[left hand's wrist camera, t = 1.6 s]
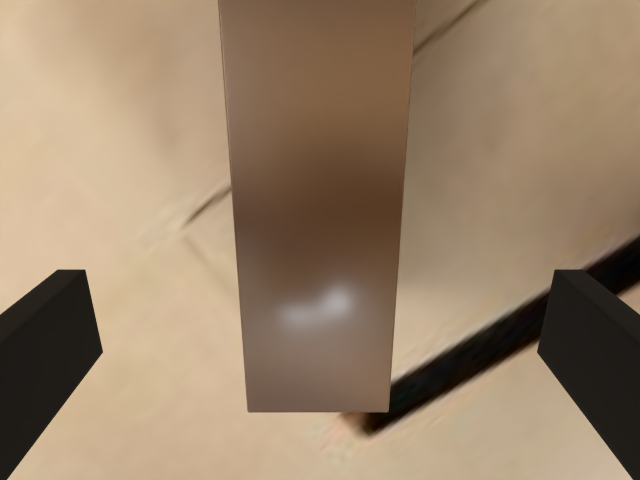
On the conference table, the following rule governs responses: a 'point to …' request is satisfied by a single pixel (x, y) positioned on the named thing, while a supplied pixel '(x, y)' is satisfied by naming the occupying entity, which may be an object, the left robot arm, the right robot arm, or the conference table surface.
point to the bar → (317, 194)
